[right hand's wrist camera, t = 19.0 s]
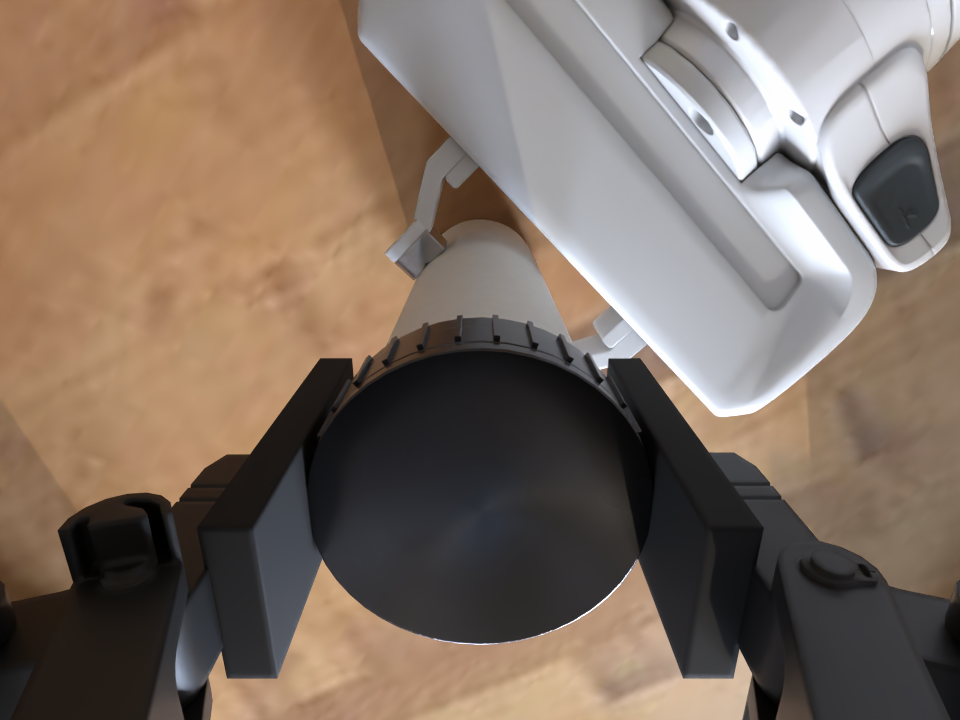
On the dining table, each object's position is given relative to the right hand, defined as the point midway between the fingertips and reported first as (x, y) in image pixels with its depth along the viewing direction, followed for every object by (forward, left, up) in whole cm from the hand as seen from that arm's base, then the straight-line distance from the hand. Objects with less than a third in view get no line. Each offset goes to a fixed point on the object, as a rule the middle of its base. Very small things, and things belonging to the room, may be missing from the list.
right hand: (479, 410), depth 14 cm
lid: (0, 0, +4) cm, 4 cm away
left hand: (-1, +1, -9) cm, 9 cm away
